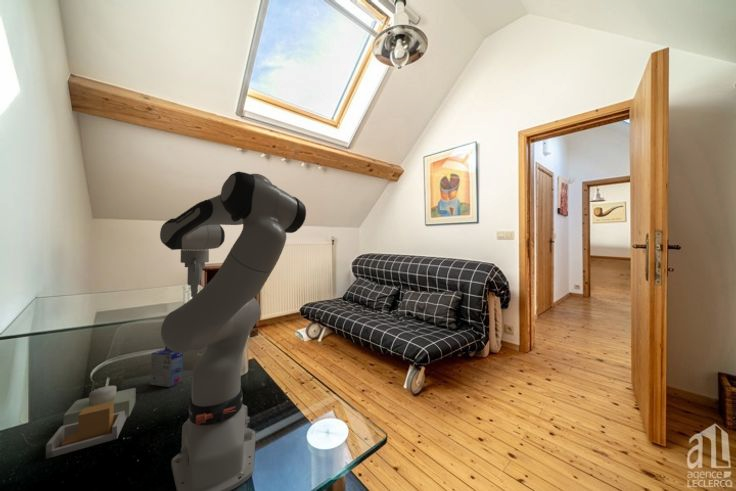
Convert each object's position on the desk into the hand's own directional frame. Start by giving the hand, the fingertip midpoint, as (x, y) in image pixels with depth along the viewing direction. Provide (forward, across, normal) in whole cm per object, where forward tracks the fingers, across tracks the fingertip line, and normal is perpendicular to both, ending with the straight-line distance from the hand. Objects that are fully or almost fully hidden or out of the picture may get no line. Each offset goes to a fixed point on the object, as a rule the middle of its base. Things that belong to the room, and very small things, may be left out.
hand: (194, 295), depth 98 cm
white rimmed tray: (+35, -9, +23) cm, 43 cm away
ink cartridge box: (+35, +12, +9) cm, 38 cm away
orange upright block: (+35, -15, +23) cm, 45 cm away
